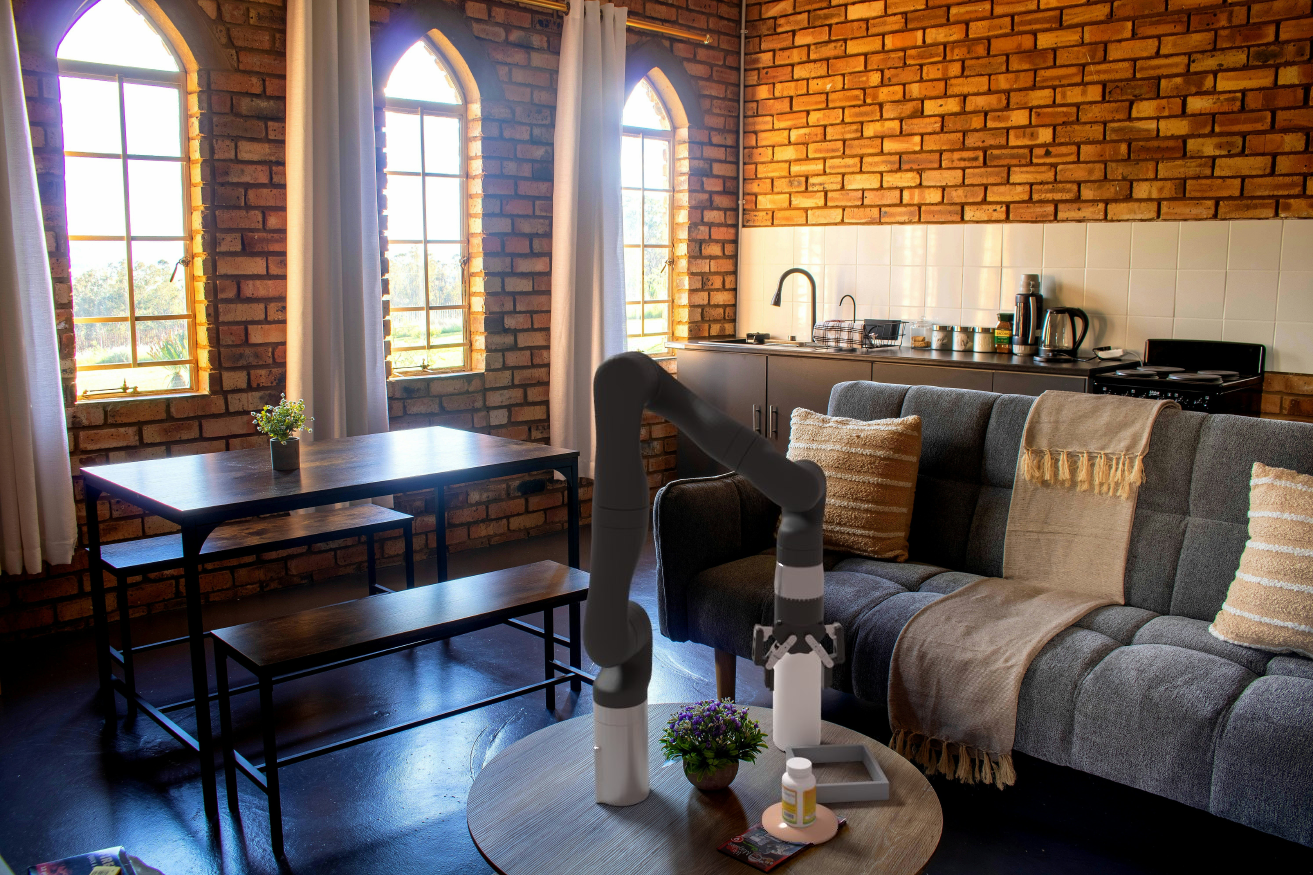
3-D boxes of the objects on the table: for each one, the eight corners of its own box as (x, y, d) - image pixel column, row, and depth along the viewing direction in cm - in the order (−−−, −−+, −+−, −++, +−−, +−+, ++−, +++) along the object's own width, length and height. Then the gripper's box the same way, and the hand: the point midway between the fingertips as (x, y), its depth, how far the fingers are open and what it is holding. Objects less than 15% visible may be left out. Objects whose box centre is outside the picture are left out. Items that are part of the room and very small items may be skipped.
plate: (769, 846, 155) (769, 842, 155) (756, 806, 167) (756, 801, 167) (846, 843, 156) (846, 838, 156) (828, 803, 167) (828, 798, 167)
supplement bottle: (814, 811, 164) (815, 755, 162) (816, 829, 158) (817, 771, 157) (781, 810, 164) (781, 754, 162) (782, 828, 159) (782, 770, 157)
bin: (802, 803, 167) (802, 786, 167) (785, 762, 182) (785, 746, 181) (888, 799, 168) (889, 782, 168) (865, 758, 183) (865, 742, 182)
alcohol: (794, 759, 183) (795, 600, 178) (763, 741, 190) (763, 588, 185) (830, 746, 187) (831, 591, 183) (798, 729, 195) (799, 579, 190)
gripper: (757, 598, 152) (756, 700, 154) (850, 595, 153) (848, 697, 155) (749, 583, 159) (749, 680, 162) (838, 580, 160) (836, 677, 163)
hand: (797, 688), depth 158 cm, fingers open, 8 cm apart
